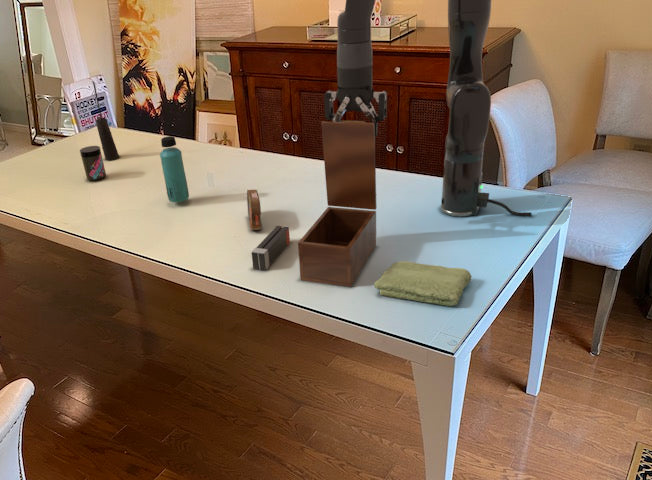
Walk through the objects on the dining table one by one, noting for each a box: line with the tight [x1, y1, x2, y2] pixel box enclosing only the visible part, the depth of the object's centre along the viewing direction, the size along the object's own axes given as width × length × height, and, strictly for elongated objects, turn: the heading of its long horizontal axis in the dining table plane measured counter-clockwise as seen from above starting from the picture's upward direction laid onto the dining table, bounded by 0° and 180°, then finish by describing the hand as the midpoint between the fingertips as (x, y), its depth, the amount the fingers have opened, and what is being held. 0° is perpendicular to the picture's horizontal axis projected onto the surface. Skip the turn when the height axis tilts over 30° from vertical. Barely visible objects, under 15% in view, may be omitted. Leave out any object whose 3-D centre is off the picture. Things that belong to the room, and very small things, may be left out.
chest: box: [297, 206, 377, 288], centre depth 142 cm, size 20×12×9 cm, turn 155°
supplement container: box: [79, 145, 107, 183], centre depth 210 cm, size 7×7×10 cm
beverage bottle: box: [159, 135, 190, 203], centre depth 181 cm, size 6×7×20 cm
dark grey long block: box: [251, 225, 291, 272], centre depth 150 cm, size 15×3×5 cm, turn 155°
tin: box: [246, 189, 262, 231], centre depth 166 cm, size 15×3×8 cm, turn 5°
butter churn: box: [92, 81, 120, 162], centre depth 224 cm, size 9×10×28 cm
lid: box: [320, 120, 377, 211], centre depth 143 cm, size 21×12×5 cm
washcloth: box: [373, 260, 473, 307], centre depth 131 cm, size 13×18×3 cm
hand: (355, 138), depth 142 cm, fingers open, 7 cm apart
